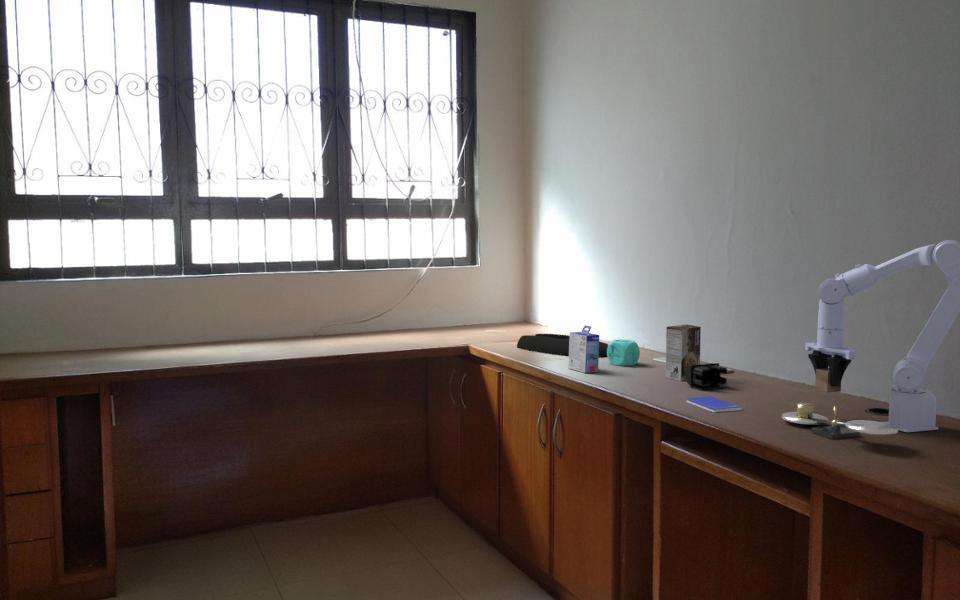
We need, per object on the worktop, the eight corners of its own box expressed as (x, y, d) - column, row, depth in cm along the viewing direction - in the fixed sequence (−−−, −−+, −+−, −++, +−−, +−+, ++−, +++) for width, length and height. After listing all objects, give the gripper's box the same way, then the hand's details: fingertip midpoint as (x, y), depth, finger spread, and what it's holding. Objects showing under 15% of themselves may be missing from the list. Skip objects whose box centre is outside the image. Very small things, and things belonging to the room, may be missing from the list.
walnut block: (828, 388, 187) (829, 368, 186) (840, 391, 183) (841, 370, 183) (815, 389, 186) (816, 368, 185) (827, 392, 182) (828, 371, 181)
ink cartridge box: (599, 372, 244) (600, 327, 242) (585, 373, 241) (586, 328, 240) (581, 367, 252) (582, 324, 251) (567, 368, 250) (568, 325, 248)
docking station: (587, 361, 266) (587, 347, 265) (506, 348, 296) (506, 335, 295) (630, 354, 283) (630, 340, 282) (549, 342, 312) (549, 329, 312)
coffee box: (683, 374, 240) (684, 324, 239) (700, 378, 235) (701, 326, 234) (664, 378, 235) (665, 326, 233) (681, 381, 230) (682, 328, 228)
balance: (806, 417, 186) (808, 391, 185) (908, 450, 158) (910, 420, 157) (772, 419, 183) (773, 393, 182) (869, 454, 155) (871, 424, 154)
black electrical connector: (711, 383, 226) (712, 361, 226) (727, 388, 220) (728, 365, 219) (684, 386, 223) (684, 363, 222) (699, 391, 216) (700, 367, 216)
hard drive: (741, 406, 193) (712, 396, 205) (714, 408, 190) (686, 397, 202) (741, 412, 193) (712, 401, 205) (713, 414, 191) (686, 403, 202)
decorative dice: (624, 367, 253) (625, 343, 252) (606, 364, 259) (606, 340, 259) (639, 364, 258) (640, 341, 257) (621, 361, 264) (622, 338, 264)
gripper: (796, 325, 189) (793, 379, 190) (839, 333, 175) (836, 391, 176) (819, 324, 191) (817, 378, 192) (864, 331, 177) (861, 389, 178)
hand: (828, 384), depth 184 cm, fingers closed on walnut block, 4 cm apart
